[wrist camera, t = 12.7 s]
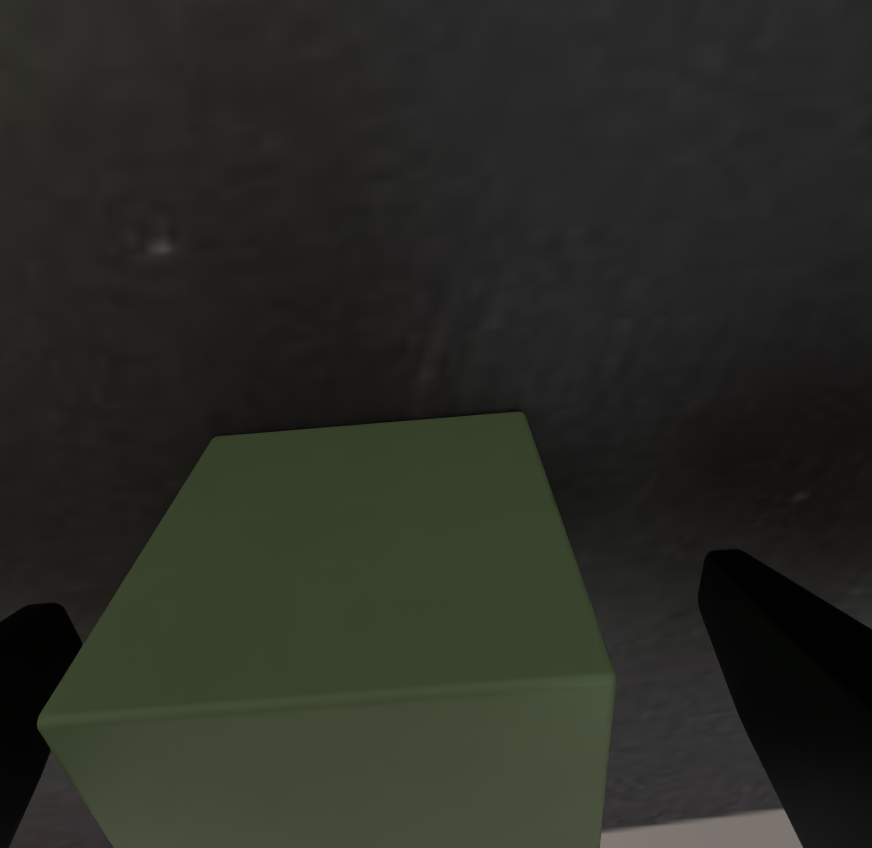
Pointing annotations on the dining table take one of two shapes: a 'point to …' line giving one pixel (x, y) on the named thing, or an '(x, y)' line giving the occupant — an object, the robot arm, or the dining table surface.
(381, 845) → the block
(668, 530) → the dining table surface
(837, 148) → the dining table surface
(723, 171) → the dining table surface
